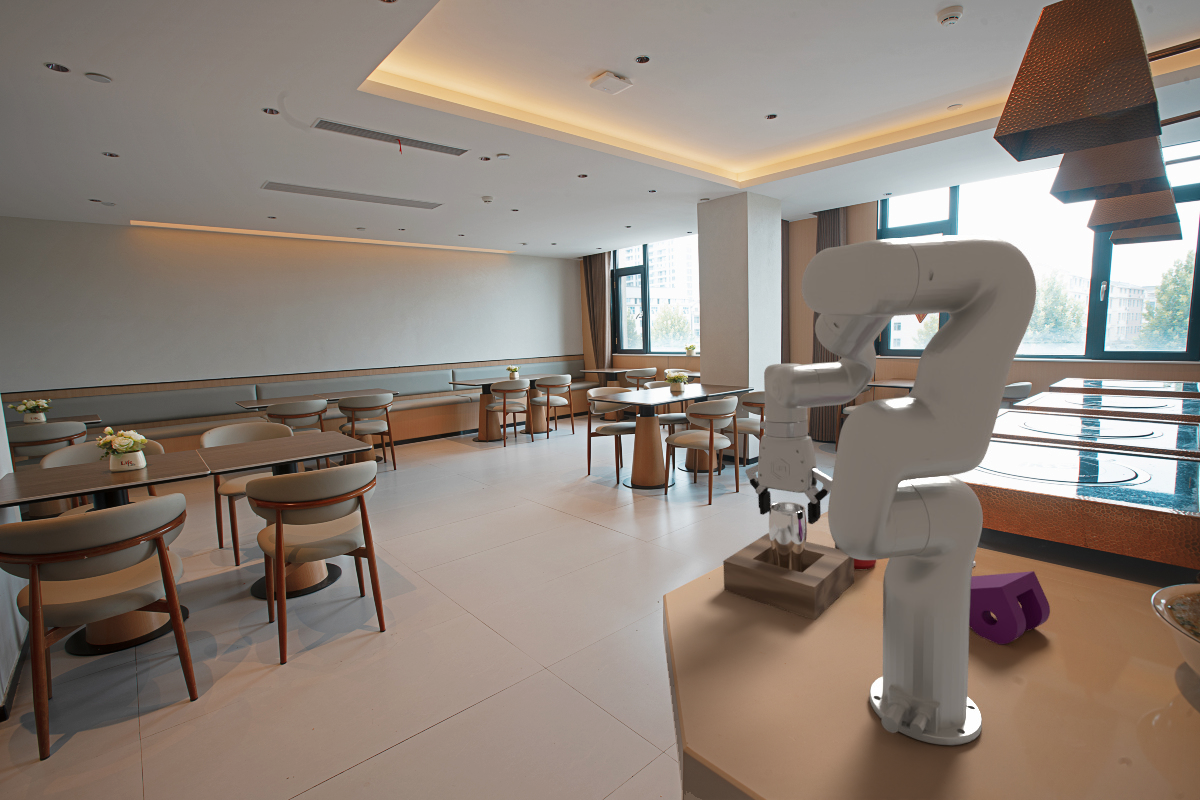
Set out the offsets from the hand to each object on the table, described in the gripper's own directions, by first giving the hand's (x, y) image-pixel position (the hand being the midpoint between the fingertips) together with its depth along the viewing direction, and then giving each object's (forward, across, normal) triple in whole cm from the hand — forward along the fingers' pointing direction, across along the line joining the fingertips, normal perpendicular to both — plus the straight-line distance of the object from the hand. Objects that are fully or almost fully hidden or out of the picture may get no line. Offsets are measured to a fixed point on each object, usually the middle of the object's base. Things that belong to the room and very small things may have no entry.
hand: (788, 517), depth 106 cm
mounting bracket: (+15, +28, +8) cm, 33 cm away
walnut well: (+14, 0, 0) cm, 14 cm away
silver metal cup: (+13, 0, 0) cm, 13 cm away
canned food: (+14, +6, +18) cm, 24 cm away
